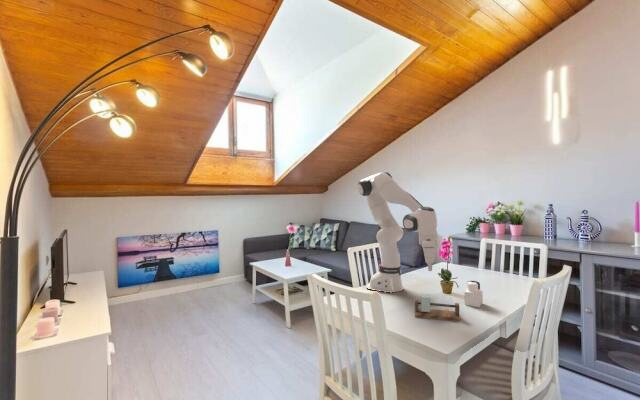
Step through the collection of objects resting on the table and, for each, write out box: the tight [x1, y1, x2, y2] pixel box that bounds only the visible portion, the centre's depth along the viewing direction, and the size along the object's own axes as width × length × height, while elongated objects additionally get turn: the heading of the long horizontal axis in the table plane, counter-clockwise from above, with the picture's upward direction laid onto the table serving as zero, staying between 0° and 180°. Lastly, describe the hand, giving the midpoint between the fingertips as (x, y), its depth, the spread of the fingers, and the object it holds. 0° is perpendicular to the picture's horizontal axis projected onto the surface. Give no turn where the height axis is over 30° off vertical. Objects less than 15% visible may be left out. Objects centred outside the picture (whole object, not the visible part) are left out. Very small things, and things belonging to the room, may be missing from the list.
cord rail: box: [414, 299, 461, 322], centre depth 150 cm, size 20×8×6 cm, turn 71°
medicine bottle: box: [464, 280, 484, 308], centre depth 162 cm, size 7×7×12 cm
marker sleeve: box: [420, 293, 431, 312], centre depth 151 cm, size 4×5×7 cm
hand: (429, 268), depth 152 cm, fingers open, 8 cm apart
